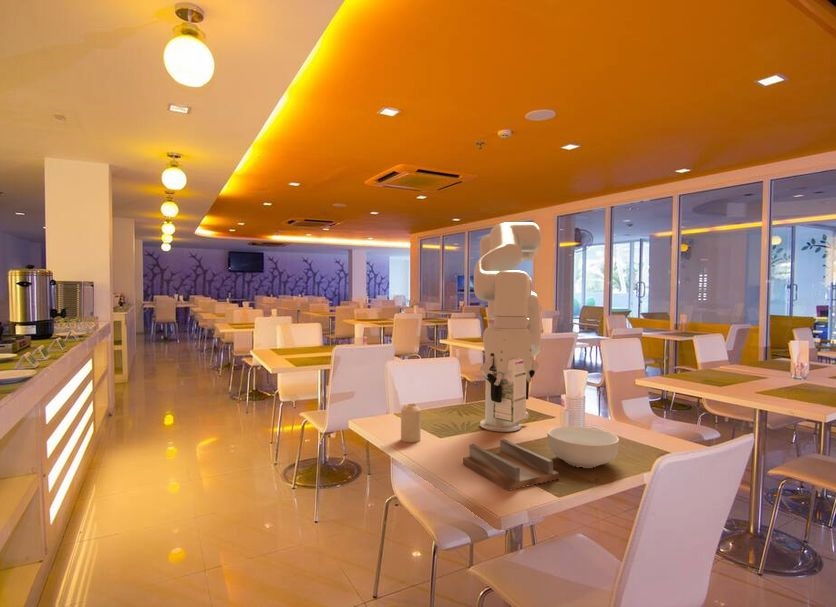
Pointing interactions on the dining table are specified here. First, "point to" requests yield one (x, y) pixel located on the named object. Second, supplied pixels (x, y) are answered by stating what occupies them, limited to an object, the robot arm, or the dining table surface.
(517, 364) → the syrup box
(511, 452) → the track board
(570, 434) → the cereal bowl
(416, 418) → the candle
